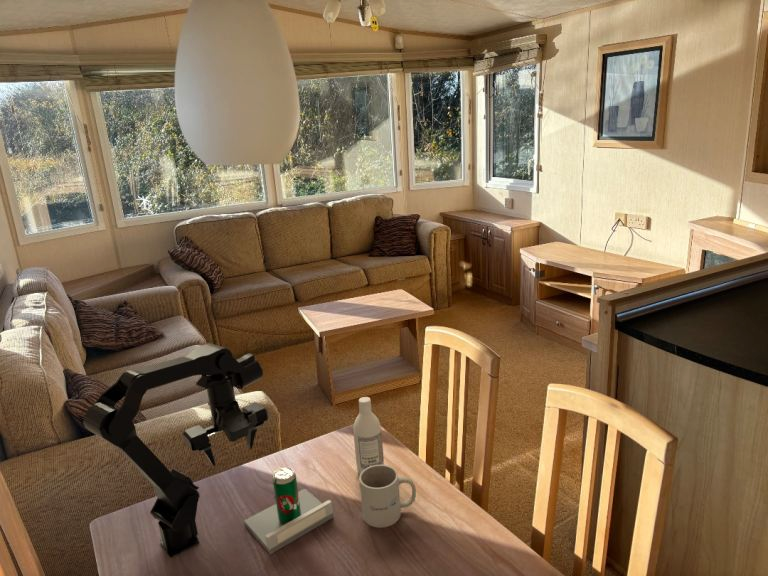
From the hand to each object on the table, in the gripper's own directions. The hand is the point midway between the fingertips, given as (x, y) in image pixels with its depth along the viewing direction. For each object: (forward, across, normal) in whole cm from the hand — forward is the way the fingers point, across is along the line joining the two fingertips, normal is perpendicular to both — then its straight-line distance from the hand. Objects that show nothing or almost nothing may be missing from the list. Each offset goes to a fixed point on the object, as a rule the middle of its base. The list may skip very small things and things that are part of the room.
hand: (232, 456), depth 130 cm
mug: (+12, +23, -29) cm, 39 cm away
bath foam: (+12, +30, -13) cm, 35 cm away
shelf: (+12, +5, -15) cm, 20 cm away
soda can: (+11, +5, -16) cm, 20 cm away
